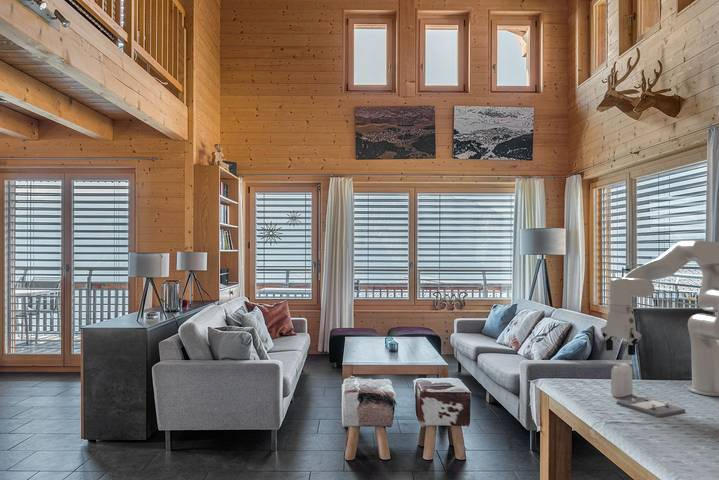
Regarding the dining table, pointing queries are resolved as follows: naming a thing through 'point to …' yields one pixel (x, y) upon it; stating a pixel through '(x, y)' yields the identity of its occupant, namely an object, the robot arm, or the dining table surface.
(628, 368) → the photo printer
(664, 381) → the dining table surface
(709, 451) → the dining table surface
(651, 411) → the tray
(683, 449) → the dining table surface
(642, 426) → the dining table surface
